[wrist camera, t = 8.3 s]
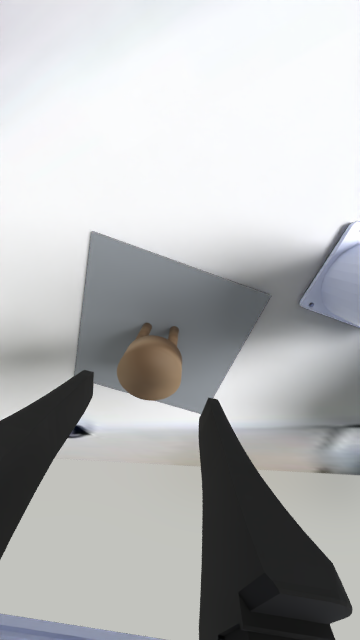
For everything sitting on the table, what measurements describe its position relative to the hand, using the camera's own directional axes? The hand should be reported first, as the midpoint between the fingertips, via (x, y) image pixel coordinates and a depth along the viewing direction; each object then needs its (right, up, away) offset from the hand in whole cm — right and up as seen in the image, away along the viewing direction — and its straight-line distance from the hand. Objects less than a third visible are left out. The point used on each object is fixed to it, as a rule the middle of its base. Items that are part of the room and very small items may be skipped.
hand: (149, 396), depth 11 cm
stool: (0, +2, +9) cm, 10 cm away
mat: (0, +2, +10) cm, 10 cm away
